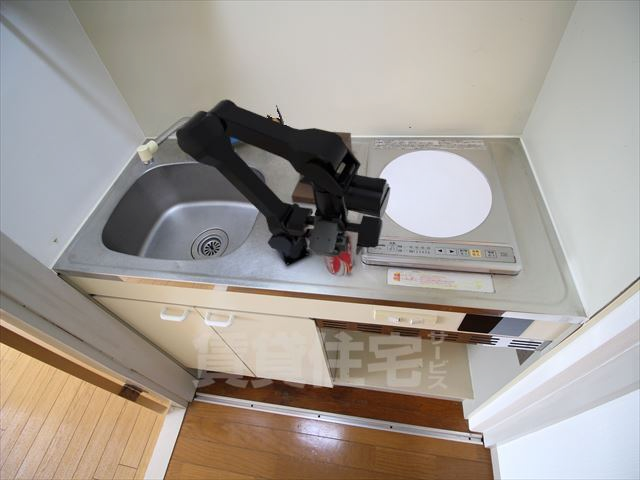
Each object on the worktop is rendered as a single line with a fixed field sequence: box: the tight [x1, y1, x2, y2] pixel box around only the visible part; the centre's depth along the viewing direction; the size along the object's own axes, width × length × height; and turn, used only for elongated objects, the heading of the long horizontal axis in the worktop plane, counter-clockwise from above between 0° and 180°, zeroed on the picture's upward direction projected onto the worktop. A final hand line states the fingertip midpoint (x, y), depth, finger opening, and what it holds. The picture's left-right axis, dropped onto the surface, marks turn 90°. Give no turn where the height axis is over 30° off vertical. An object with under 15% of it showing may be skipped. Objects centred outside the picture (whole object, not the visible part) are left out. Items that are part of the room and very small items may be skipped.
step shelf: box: [291, 131, 353, 205], centre depth 92 cm, size 24×12×8 cm, turn 163°
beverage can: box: [324, 231, 354, 277], centre depth 70 cm, size 6×6×12 cm
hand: (337, 249), depth 69 cm, fingers open, 9 cm apart
